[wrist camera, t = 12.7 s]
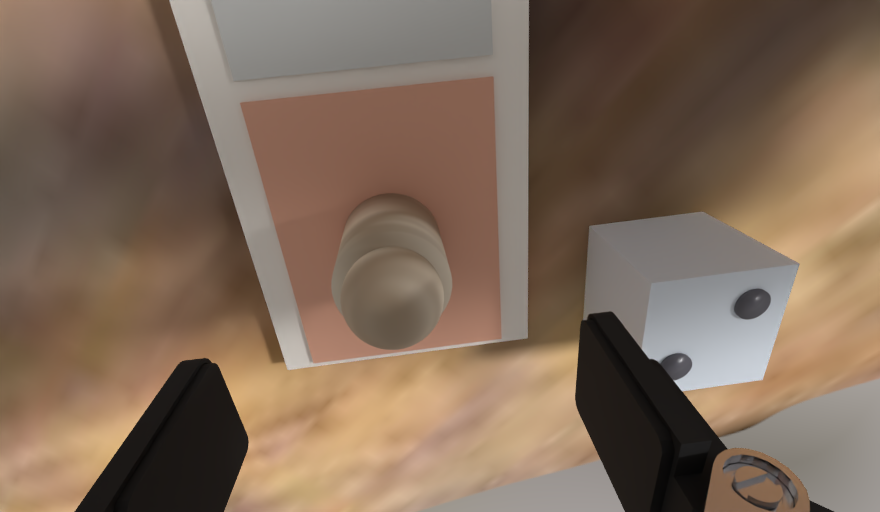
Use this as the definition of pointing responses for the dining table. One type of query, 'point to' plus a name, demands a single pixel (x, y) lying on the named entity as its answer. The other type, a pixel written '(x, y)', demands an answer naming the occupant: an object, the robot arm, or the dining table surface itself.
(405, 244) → the pawn
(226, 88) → the board
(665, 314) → the die
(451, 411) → the dining table surface
